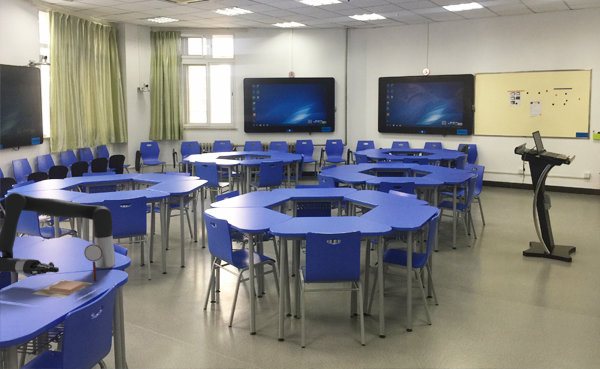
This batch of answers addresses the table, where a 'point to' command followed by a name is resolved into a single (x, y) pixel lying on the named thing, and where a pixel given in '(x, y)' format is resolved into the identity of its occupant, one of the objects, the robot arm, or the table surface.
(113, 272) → the table surface
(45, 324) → the table surface
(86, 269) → the table surface
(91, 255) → the magnifying glass
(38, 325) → the table surface
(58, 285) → the tile
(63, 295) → the board
